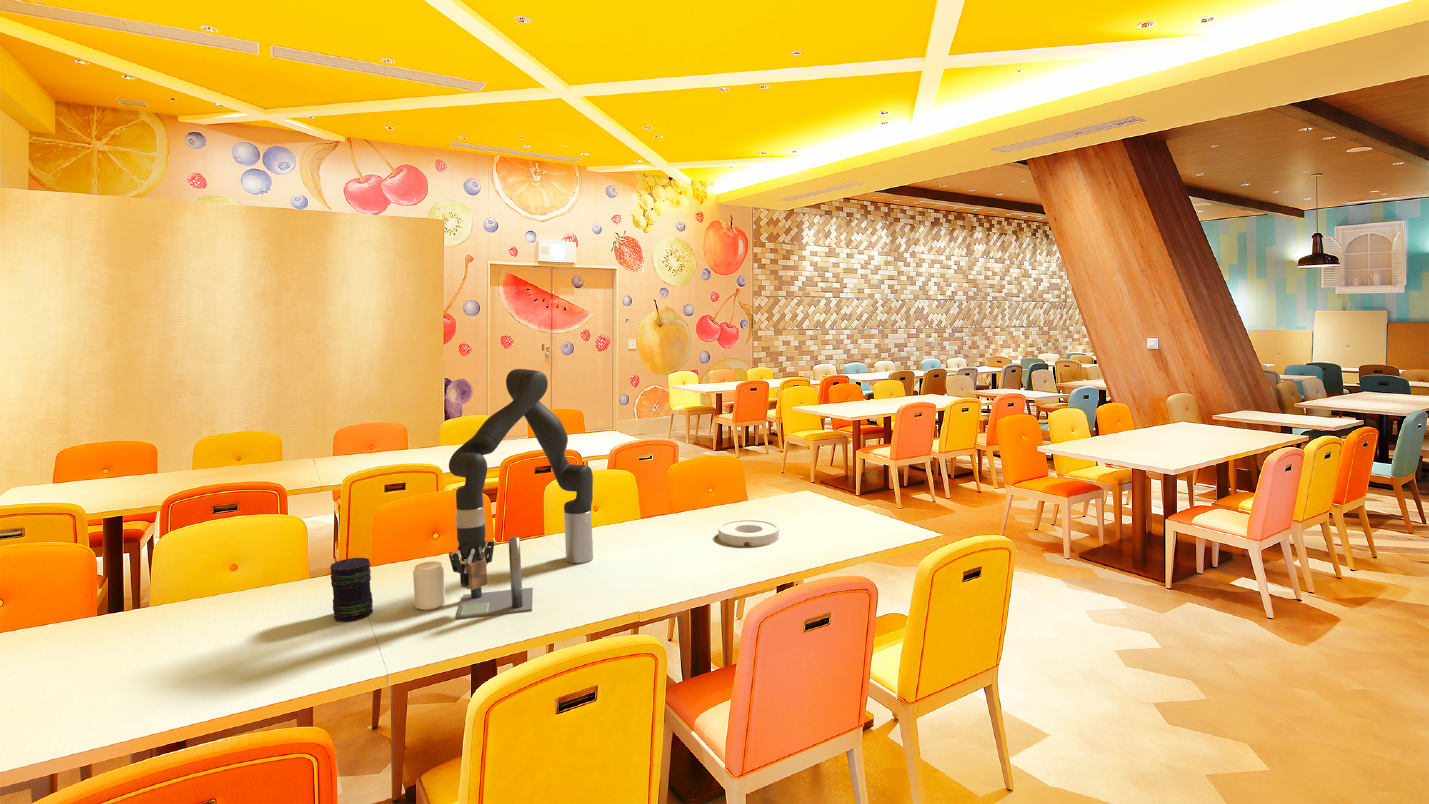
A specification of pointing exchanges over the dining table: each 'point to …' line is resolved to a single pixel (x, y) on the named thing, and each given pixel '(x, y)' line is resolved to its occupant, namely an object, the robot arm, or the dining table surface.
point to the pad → (476, 607)
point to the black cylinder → (351, 589)
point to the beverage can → (429, 585)
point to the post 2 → (515, 572)
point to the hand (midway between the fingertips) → (473, 582)
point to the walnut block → (476, 574)
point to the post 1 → (476, 593)
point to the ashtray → (748, 532)
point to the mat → (495, 603)
